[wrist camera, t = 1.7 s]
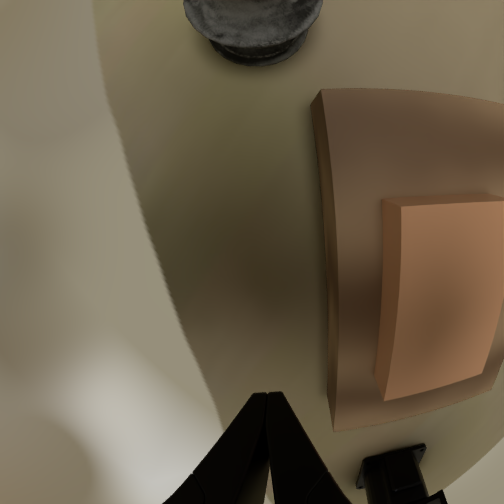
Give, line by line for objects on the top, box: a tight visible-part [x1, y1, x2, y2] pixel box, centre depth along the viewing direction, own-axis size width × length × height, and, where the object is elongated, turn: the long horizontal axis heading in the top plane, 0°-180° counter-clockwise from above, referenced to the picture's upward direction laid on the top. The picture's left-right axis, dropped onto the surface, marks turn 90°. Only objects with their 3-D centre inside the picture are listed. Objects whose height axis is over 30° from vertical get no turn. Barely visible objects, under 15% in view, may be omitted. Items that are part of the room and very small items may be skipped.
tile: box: [374, 194, 504, 401], centre depth 11 cm, size 9×6×2 cm, turn 7°
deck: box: [310, 88, 504, 432], centre depth 14 cm, size 18×12×4 cm, turn 7°
